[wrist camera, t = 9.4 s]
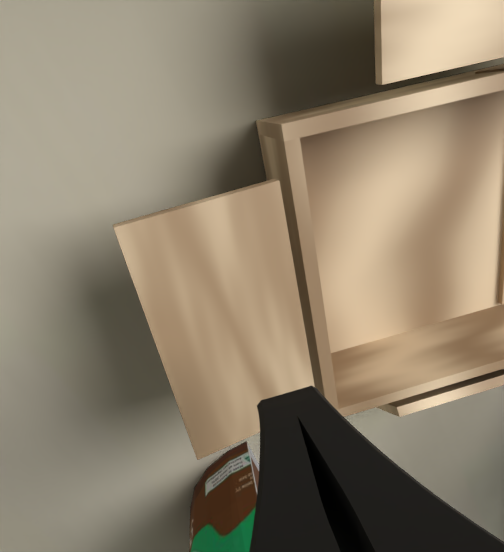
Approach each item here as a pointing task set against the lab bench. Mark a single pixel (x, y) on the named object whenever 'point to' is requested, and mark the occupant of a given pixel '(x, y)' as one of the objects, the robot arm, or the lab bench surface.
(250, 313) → the flap
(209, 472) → the food container
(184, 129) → the lab bench surface
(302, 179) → the carton
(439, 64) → the flap
